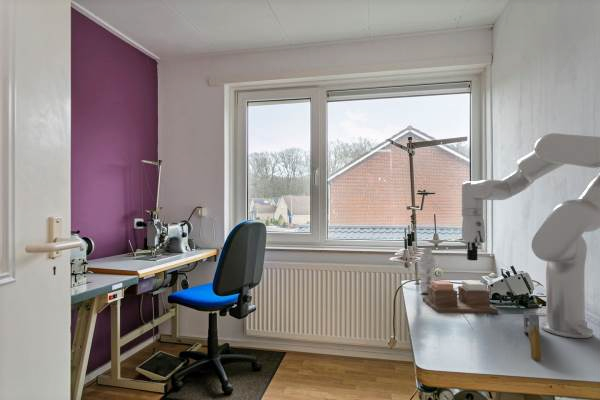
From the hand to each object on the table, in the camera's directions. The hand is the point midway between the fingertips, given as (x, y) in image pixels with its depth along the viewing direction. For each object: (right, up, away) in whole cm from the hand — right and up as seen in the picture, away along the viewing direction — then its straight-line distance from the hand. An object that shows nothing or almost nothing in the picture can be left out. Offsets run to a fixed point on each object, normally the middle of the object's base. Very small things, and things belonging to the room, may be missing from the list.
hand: (472, 259), depth 134 cm
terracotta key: (-12, -14, 0) cm, 18 cm away
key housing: (-6, -18, -1) cm, 19 cm away
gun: (-1, -18, -37) cm, 41 cm away
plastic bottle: (-10, -19, +20) cm, 29 cm away
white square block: (0, -14, -1) cm, 14 cm away
